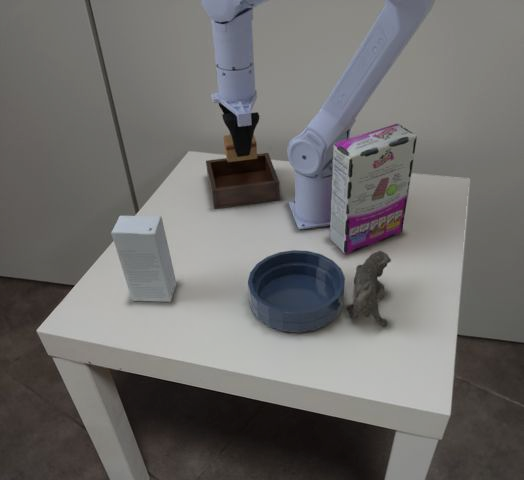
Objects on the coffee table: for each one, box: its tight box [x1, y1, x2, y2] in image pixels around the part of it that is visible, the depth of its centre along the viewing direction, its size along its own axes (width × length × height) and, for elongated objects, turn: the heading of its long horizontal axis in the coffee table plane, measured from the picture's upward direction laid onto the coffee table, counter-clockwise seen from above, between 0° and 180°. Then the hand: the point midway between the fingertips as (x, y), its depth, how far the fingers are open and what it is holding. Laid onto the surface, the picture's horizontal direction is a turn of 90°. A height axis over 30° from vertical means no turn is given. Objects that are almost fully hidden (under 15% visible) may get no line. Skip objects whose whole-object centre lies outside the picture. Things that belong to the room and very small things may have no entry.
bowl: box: [247, 249, 346, 333], centre depth 76 cm, size 13×13×4 cm
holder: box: [205, 152, 281, 210], centre depth 97 cm, size 12×11×4 cm
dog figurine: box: [346, 250, 392, 326], centre depth 74 cm, size 12×6×7 cm, turn 166°
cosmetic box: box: [110, 215, 177, 303], centre depth 76 cm, size 6×4×12 cm
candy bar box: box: [329, 123, 418, 255], centre depth 81 cm, size 11×5×16 cm, turn 117°
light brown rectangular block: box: [223, 134, 258, 162], centre depth 91 cm, size 5×4×3 cm
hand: (241, 149), depth 91 cm, fingers closed on light brown rectangular block, 3 cm apart
